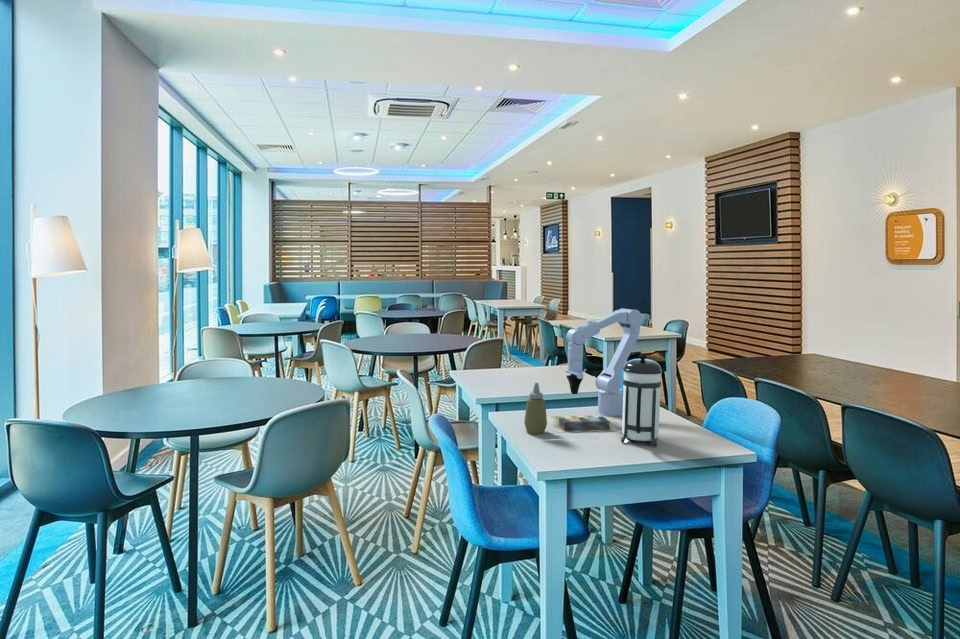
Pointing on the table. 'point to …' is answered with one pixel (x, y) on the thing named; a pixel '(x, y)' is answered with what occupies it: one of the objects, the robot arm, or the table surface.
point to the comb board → (579, 424)
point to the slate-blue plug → (593, 419)
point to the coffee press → (641, 400)
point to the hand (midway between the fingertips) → (574, 393)
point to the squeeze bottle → (535, 412)
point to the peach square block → (573, 419)
